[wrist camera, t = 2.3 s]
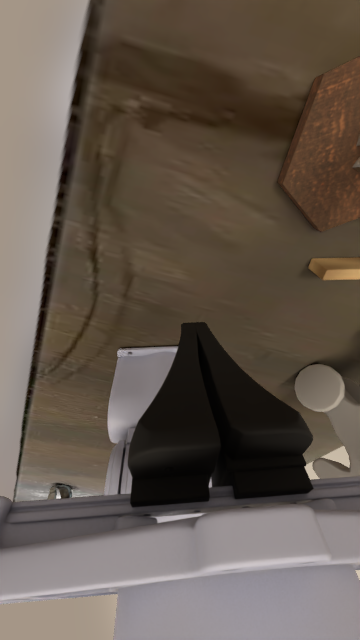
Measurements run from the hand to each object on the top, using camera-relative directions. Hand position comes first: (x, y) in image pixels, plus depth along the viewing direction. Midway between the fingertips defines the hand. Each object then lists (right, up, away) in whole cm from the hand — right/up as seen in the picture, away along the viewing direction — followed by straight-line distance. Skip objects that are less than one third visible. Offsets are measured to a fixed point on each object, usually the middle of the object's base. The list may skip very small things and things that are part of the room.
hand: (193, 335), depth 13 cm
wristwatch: (-29, -39, +41) cm, 63 cm away
